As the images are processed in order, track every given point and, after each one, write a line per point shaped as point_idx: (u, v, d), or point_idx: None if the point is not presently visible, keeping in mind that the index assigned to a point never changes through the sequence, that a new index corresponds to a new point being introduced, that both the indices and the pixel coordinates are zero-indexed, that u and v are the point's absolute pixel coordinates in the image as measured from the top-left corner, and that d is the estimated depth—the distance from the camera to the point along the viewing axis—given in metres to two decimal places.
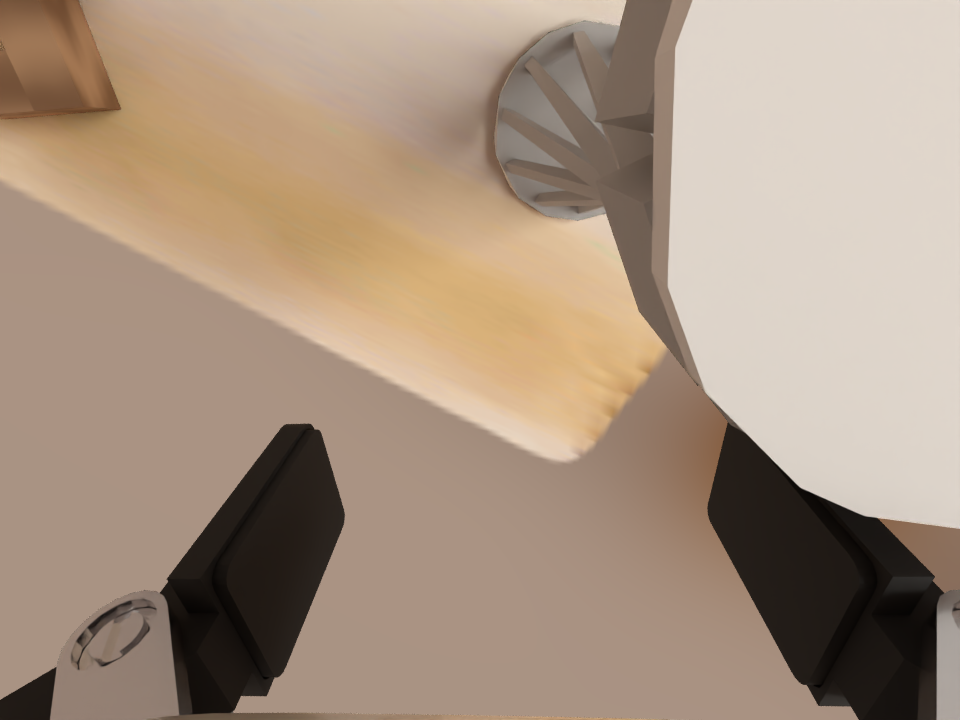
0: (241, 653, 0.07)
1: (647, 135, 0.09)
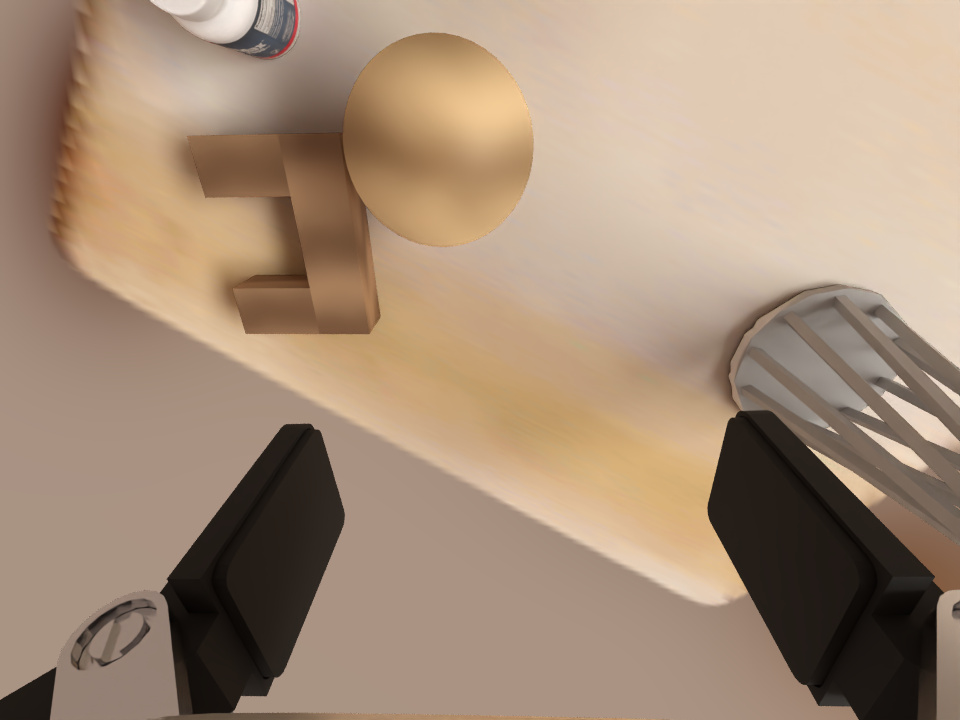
0: (241, 653, 0.07)
1: None
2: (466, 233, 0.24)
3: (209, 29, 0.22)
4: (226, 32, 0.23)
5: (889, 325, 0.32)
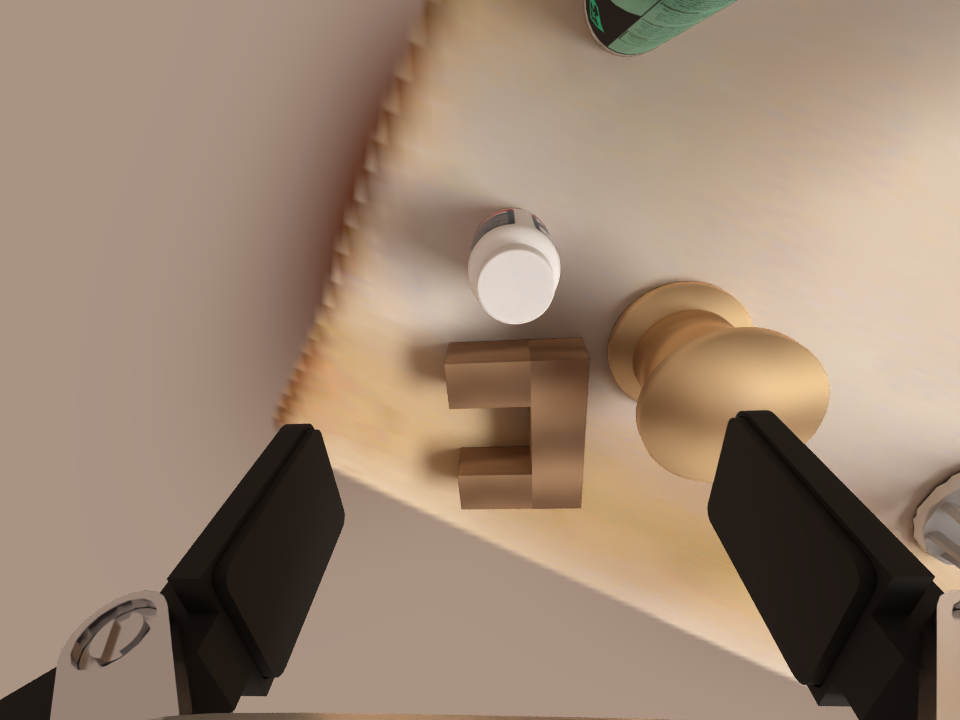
0: (241, 652, 0.07)
1: None
2: None
3: None
4: None
5: None
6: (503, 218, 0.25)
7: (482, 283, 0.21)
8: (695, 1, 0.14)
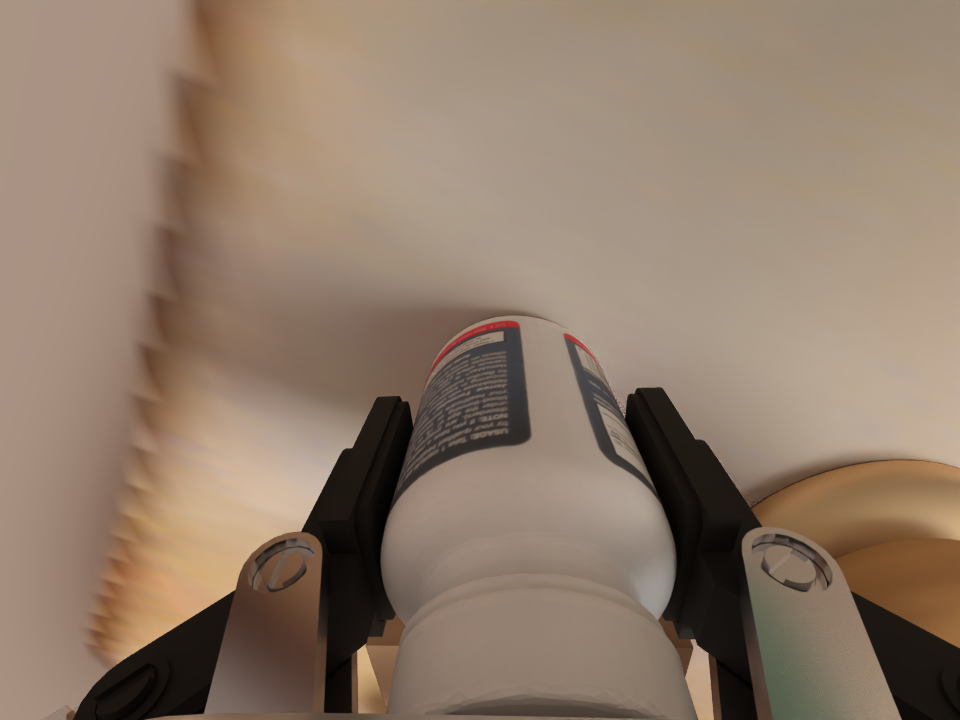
0: (369, 593, 0.08)
1: None
2: None
3: None
4: None
5: None
6: (493, 381, 0.09)
7: None
8: None
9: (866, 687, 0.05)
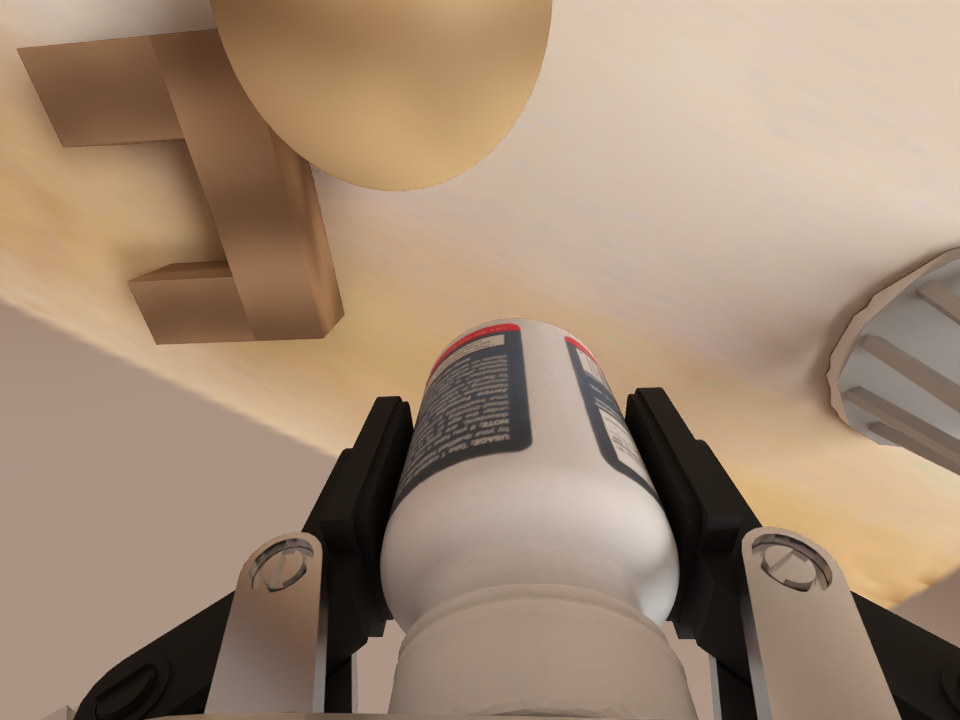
0: (369, 593, 0.08)
1: None
2: (442, 164, 0.14)
3: None
4: None
5: None
6: (494, 385, 0.09)
7: None
8: None
9: (865, 687, 0.05)
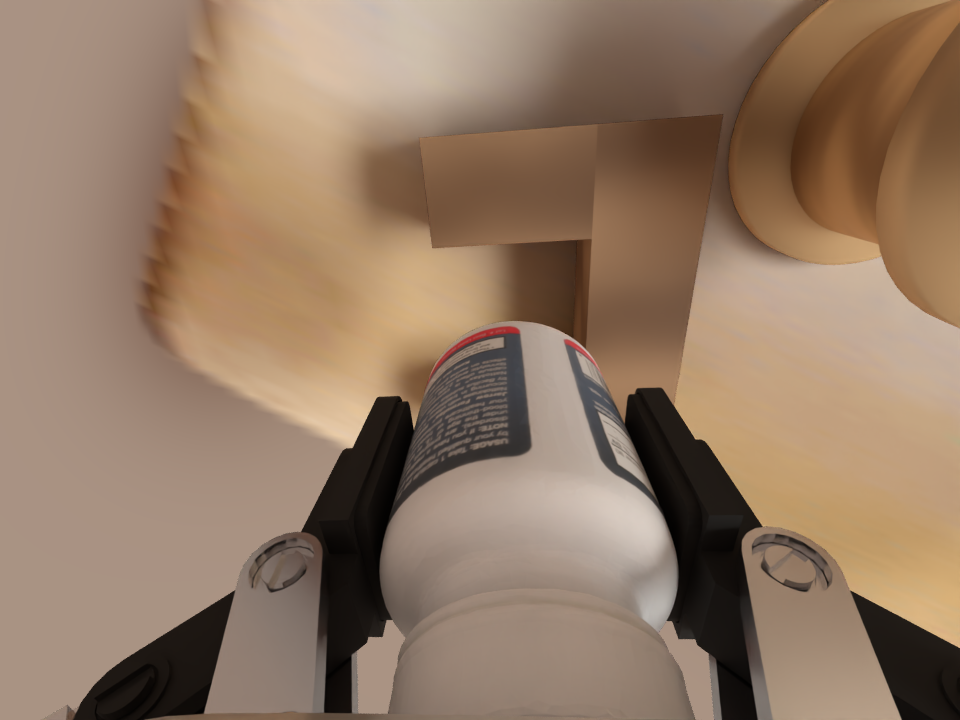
0: (369, 593, 0.08)
1: None
2: None
3: None
4: None
5: None
6: (493, 389, 0.09)
7: None
8: None
9: (865, 687, 0.05)
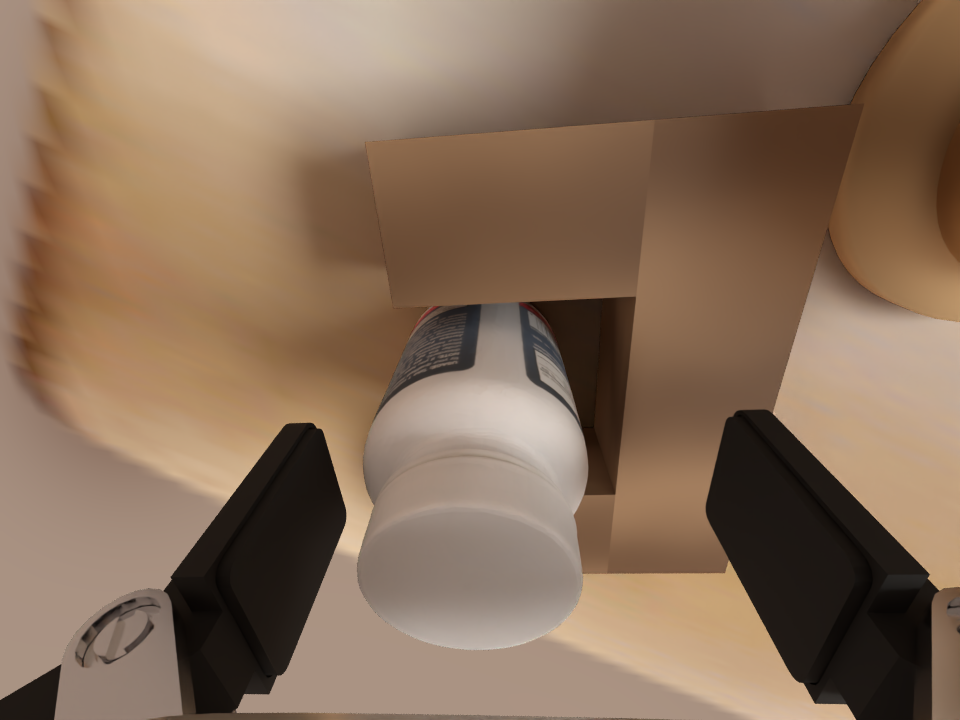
0: (245, 650, 0.07)
1: None
2: None
3: None
4: None
5: None
6: (453, 332, 0.11)
7: (371, 575, 0.07)
8: None
9: None
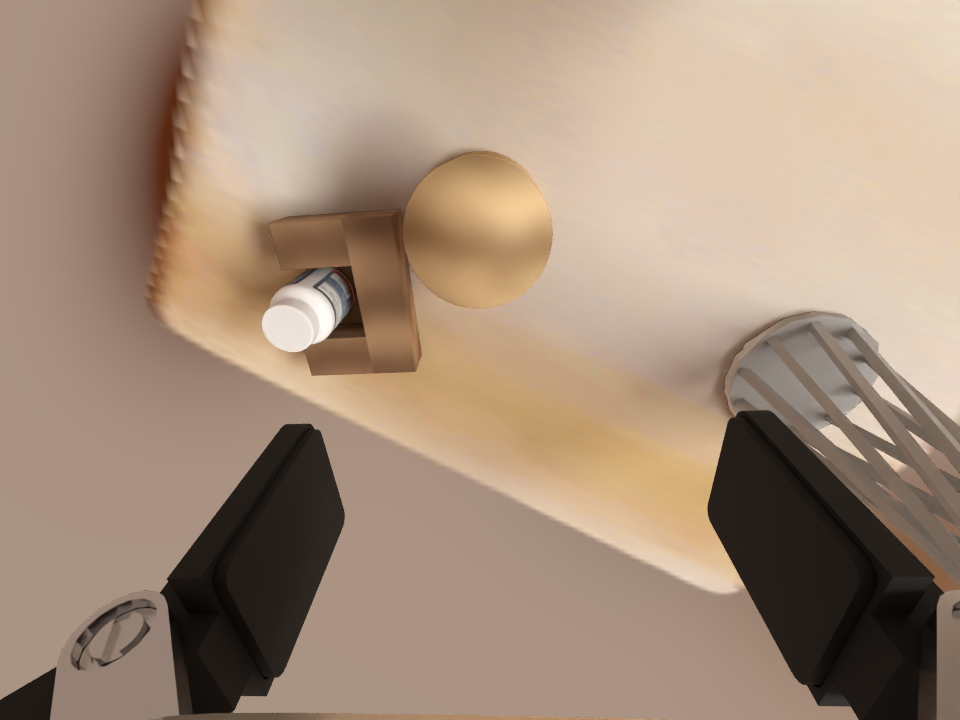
0: (241, 652, 0.07)
1: None
2: (500, 297, 0.30)
3: None
4: (315, 342, 0.36)
5: (857, 346, 0.37)
6: (299, 277, 0.36)
7: (264, 326, 0.33)
8: None
9: None
